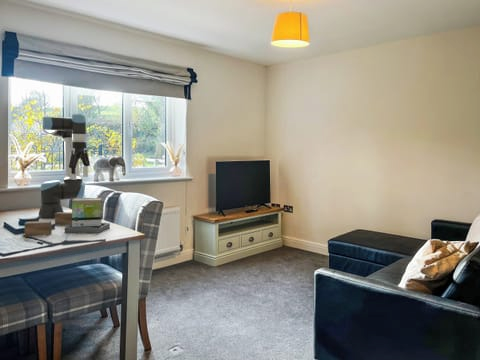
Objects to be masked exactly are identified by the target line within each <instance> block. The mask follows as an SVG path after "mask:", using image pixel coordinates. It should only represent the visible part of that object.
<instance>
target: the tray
mask: <svg viewBox="0 0 480 360" xmlns="http://www.w3.org/2000/svg"><path fill="white" fill-rule="evenodd" d="M110 228H111V224H110V222H101V226H79V227H72V225H65V227H64V233H65V234H90V235H91V234H92V235H94V234H95V235H99V234H102V233H103V231H104V232H106V231H107V230H109V229H110ZM101 232H102V233H101Z"/></svg>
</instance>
